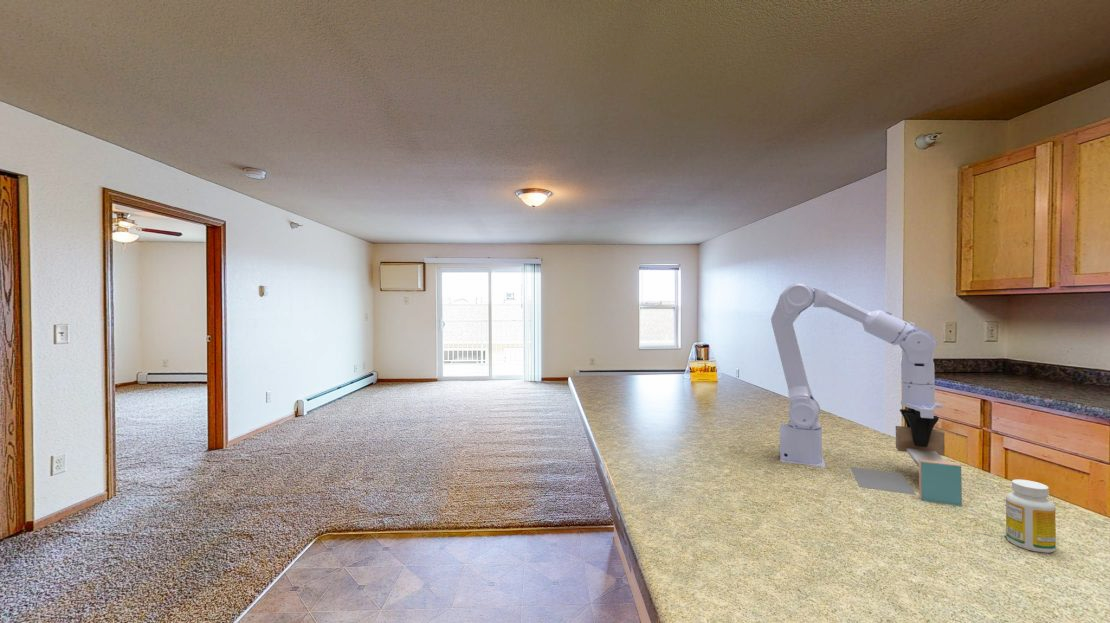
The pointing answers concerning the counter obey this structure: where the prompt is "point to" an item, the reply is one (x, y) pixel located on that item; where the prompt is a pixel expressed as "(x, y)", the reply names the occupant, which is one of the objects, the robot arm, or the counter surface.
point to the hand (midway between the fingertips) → (919, 444)
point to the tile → (940, 482)
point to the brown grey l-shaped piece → (916, 452)
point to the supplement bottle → (1030, 517)
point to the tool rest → (882, 480)
